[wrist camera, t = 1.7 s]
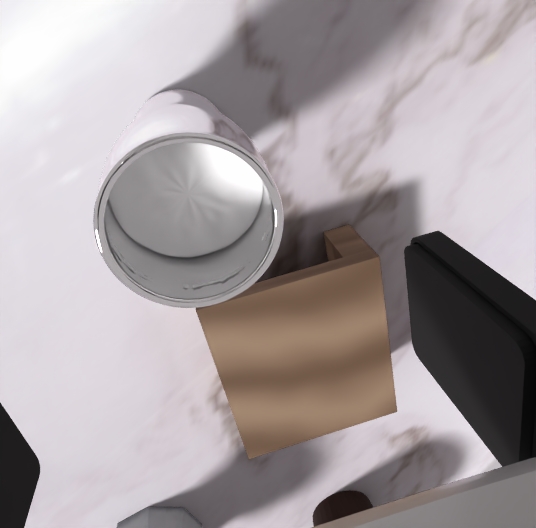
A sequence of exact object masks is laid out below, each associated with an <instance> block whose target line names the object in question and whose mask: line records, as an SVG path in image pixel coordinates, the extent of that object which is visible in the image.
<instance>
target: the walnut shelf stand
mask: <svg viewBox="0 0 536 528" xmlns="http://www.w3.org/2000/svg"><path fill="white" fill-rule="evenodd" d="M323 233H324V239H325V245H326V250H327V256H328V262H326V263H322V264H319V265H315V266H312V267H309V268H305V269H302V270H298V271H295V272H292V273H288V274H285V275H281V276H278V277H274V278H271V279H268V280H264V281H261V282H257V283H254V284H253V285H252V286H250V287H249V288H248V289H246V290H245V291H244V292H242V293H240V294H239V295H237V296H235V297H233V298H231V299H229V300H226V301H224V302H221V303H218V304H214V305H210V306H204V307H196V312H197V315H198V317H199V320H200V323H201V326H202V329H203V332H204V334H205V337H206V340H207V343H208V346H209V348H210V351H211V354H212V357H213V360H214V362H215V365H216V368H217V371H218V374H219V376H220V379H221V382H222V385H223V388H224V390H225V393H226V396H227V399H228V402H229V405H230V407H231V410H232V413H233V416H234V419H235V421H236V424H237V427H238V430H239V433H240V435H241V438H242V441H243V444H244V447H245V449H246V452H247V455H248V458H249V459H251V458H254V457H257V456H261V455H264V454H267V453H270V452H273V451H276V450H279V449H282V448H286V447H289V446H292V445H295V444H298V443H301V442H304V441H307V440H310V439H314V438H317V437H320V436H323V435H326V434H329V433H332V432H335V431H339V430H342V429H345V428H348V427H351V426H354V425H357V424H360V423H363V422H367V421H370V420H373V419H376V418H379V417H382V416H385V415H388V414H392V413H395V412H397V406H396V397H395V388H394V380H393V371H392V362H391V353H390V345H389V336H388V327H387V318H386V310H385V301H384V292H383V283H382V275H381V266H380V257H379V256H378V255H377V254H376V253H375V251H374V250H373V249H372V248H371V247H370V246H369V245H368V244H367V243H366V242H365V241H364V240H363V239H362V238H361V237H360V236H359V235H358V234H357V233H356V231H355V230H354V229H353V228H352V227H351V226H350V225H345V226H342V227H338V228H335V229H331V230H328V231H324V232H323Z"/></svg>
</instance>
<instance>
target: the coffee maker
mask: <svg viewBox="0 0 536 528" xmlns="http://www.w3.org/2000/svg"><path fill="white" fill-rule="evenodd" d="M117 528H202V524H201V523H200V522H199V521H198V520H197V519H195V518H194V517H193V516H192V515H191V514H190V513H189V512H188V511H187V510H186V509H185V508H180V507H147V508H145V509H143V510H141V511H139V512H137V513H136V514H134V515H132V516H130V517H128V518H126V519H125V520H123V521H121V522H119V523H118V525H117Z"/></svg>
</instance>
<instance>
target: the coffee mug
mask: <svg viewBox="0 0 536 528" xmlns="http://www.w3.org/2000/svg"><path fill="white" fill-rule="evenodd" d="M371 508H373V506H372V504H371V502H370V501H369V499H368V497H367V496H366V495H364V494H363V493H361V492H358V491H343V492H339V493H336V494H333V495H331V496H329V497H327V498H326V499H324V500H323V501H322V502H321V503H320V504H319V505H318V506H317V507H316V509H315V511H314V513H313V523H314V527H315V526H318V525H321V524H325V523H328V522H331V521H334V520H337V519H340V518H343V517H346V516H349V515H352V514H355V513H358V512H362V511H365V510H368V509H371Z"/></svg>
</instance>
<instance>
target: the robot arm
mask: <svg viewBox="0 0 536 528" xmlns="http://www.w3.org/2000/svg"><path fill="white" fill-rule="evenodd" d="M404 255H405V266H406V278H407V289H408V300H409V312H410V323H411V334H412V344H413V348H414V350H415V353H416V355H417V356H418V358H419V359H420V361H421V362H422V363H423V365H424V366H425V367H426V368H427V370H428V371H429V372H430V374H431V375H432V376H433V377H434V379H435V380H436V381H437V383H438V384H439V385H440V387H441V388H442V389H443V390H444V392H445V393H446V394H447V396H448V397H449V398H450V399H451V401H452V402H453V403H454V405H455V406H456V407H457V409H458V410H459V411H460V412H461V414H462V415H463V416H464V418H465V419H466V420H467V421H468V423H469V424H470V425H471V427H472V428H473V429H474V431H475V432H476V433H477V434H478V436H479V437H480V438H481V440H482V441H483V442H484V443H485V445H486V446H487V447H488V449H489V450H490V451H491V453H492V454H493V455H494V456H495V458H496V459H497V460H498V462H499V463H500V464H501V465H502V467H501V468H498V469H494V470H491V471H488V472H484V473H481V474H478V475H475V476H471V477H468V478H465V479H461V480H458V481H455V482H452V483H448V484H445V485H442V486H439V487H435V488H432V489H429V490H426V491H423V492H420V493H417V494H414V495H411V496H408V497H405V498H402V499H398V500H395V501H392V502H389V503H386V504H383V505H380V506H377V507H374V508H371V509H368V510H365V511H362V512H358V513H355V514H352V515H349V516H346V517H343V518H340V519H337V520H334V521H331V522H328V523H325V524H321V525H318V526H315V527H312V528H536V300H535V299H533V298H532V297H530V296H529V295H528V294H526V293H525V292H523V291H522V290H521V289H519V288H518V287H517V286H515V285H514V284H512V283H511V282H510V281H508V280H507V279H505V278H504V277H503V276H501V275H500V274H498V273H497V272H496V271H494V270H493V269H492V268H490V267H489V266H487V265H486V264H485V263H483V262H482V261H480V260H479V259H478V258H476V257H475V256H474V255H472V254H471V253H469V252H468V251H467V250H465V249H464V248H462V247H461V246H460V245H458V244H457V243H455V242H454V241H453V240H451V239H450V238H449V237H447V236H446V235H444V234H443V233H442V232H440V231H435V232H432V233H428V234H425V235H421V236H418V237H414V238H413V239H412V240H411V245H410V246H407V247H406V248H405V250H404ZM39 475H40V464H39V460H38V458H37V456H36V455H35V453H34V452H33V450H32V449H31V447H30V446H29V444H28V443H27V441H26V440H25V439H24V437H23V436H22V434H21V433H20V431H19V430H18V428H17V427H16V425H15V424H14V422H13V421H12V419H11V418H10V416H9V415H8V413H7V412H6V410H5V409H4V407H3V406H2V405H1V403H0V528H24V526H25V522H26V519H27V516H28V512H29V509H30V506H31V502H32V499H33V495H34V492H35V489H36V485H37V482H38V479H39Z"/></svg>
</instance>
